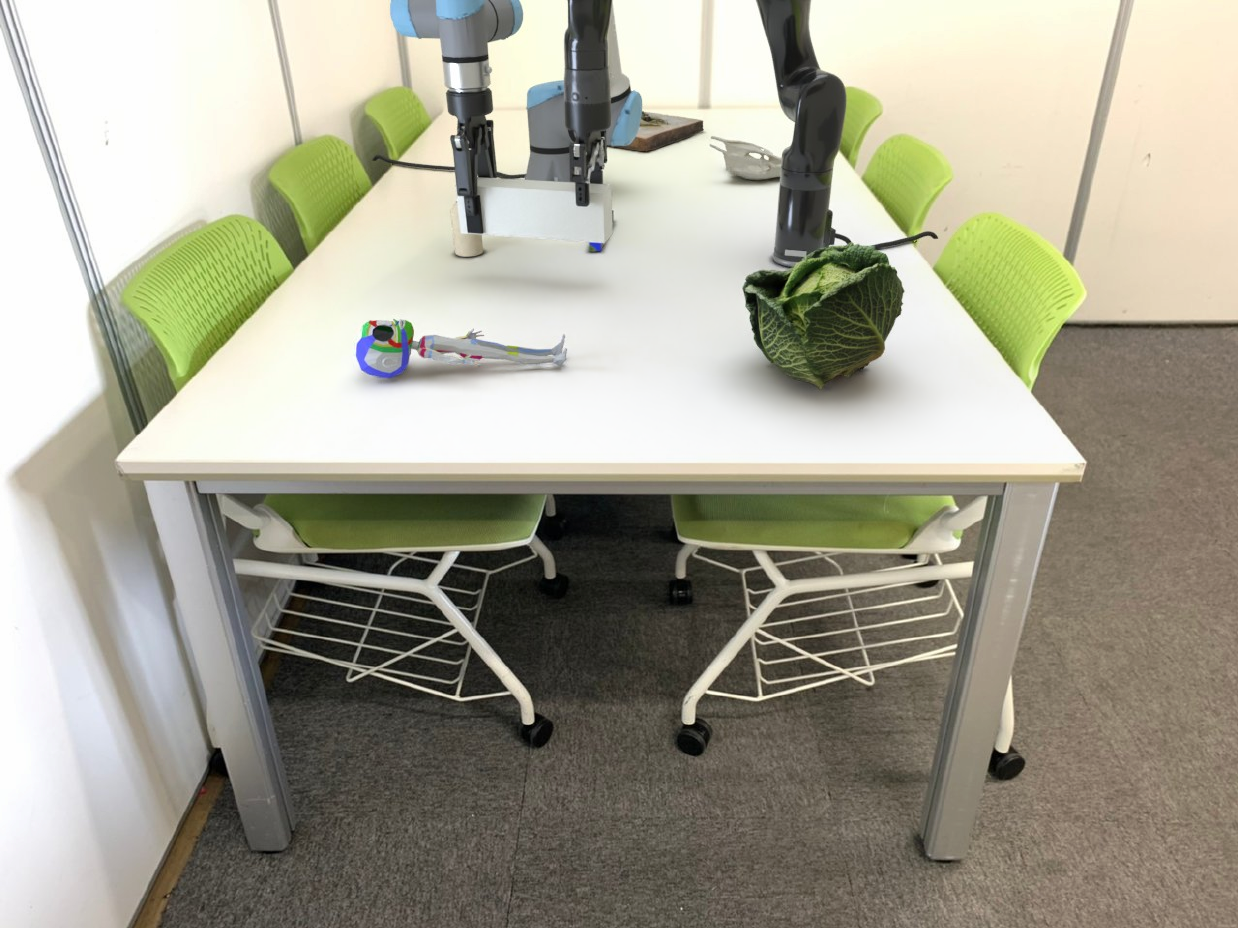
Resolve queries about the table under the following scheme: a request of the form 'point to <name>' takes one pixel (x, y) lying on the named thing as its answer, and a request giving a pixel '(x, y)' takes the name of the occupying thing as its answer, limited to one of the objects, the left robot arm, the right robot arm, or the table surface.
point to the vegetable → (825, 311)
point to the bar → (541, 210)
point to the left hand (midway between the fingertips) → (482, 227)
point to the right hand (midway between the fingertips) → (589, 199)
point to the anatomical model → (749, 160)
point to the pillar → (598, 245)
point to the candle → (464, 237)
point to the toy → (435, 349)
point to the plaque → (662, 131)
